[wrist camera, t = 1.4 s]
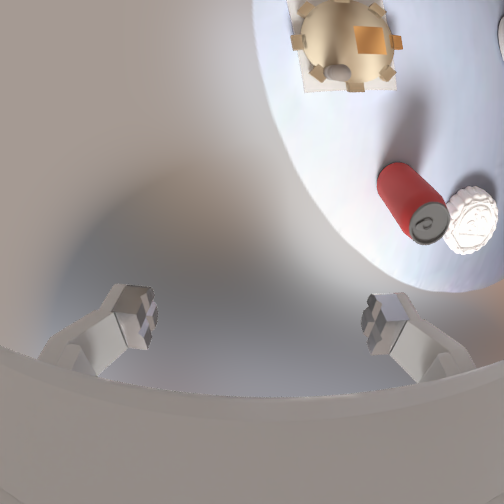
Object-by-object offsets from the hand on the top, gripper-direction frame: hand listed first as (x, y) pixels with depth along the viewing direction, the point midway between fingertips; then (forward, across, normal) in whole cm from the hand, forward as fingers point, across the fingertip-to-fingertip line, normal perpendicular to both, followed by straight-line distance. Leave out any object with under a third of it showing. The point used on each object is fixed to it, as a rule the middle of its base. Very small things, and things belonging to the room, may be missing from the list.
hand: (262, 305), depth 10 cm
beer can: (+29, -20, +2) cm, 35 cm away
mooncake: (+28, -36, +6) cm, 46 cm away
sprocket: (+26, -10, -16) cm, 32 cm away
